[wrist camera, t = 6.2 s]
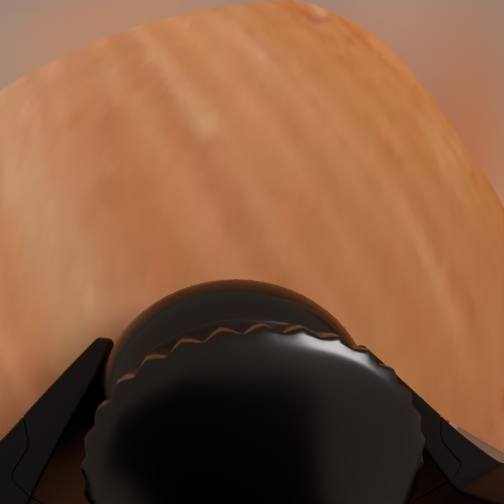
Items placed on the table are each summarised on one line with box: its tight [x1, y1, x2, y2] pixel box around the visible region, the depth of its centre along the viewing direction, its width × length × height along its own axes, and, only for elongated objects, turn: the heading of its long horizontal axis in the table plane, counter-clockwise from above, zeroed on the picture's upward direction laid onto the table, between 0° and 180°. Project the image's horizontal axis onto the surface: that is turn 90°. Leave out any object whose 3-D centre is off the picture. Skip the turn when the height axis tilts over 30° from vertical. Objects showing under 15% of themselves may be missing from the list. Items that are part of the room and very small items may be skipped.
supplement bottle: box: [80, 279, 425, 504], centre depth 9 cm, size 7×7×12 cm
